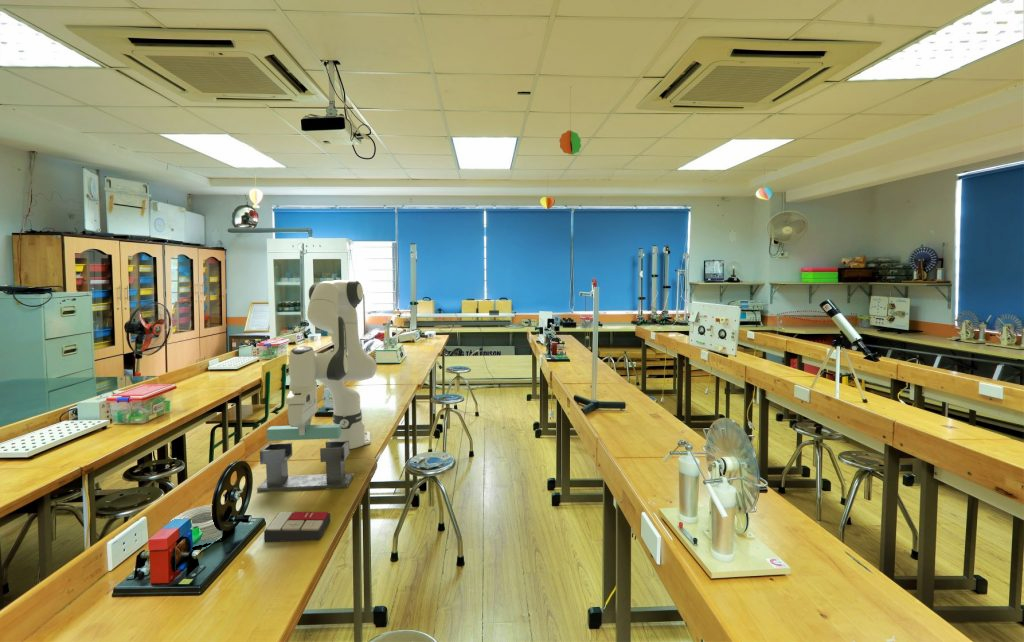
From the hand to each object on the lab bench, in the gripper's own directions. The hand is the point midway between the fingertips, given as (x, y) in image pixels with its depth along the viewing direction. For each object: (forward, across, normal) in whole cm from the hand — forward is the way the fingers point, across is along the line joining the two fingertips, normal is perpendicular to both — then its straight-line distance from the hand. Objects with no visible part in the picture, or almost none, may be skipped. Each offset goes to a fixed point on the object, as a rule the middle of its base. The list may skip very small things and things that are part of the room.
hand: (305, 432), depth 174 cm
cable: (+20, +33, -19) cm, 43 cm away
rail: (+2, 0, 0) cm, 2 cm away
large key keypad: (+20, +34, +8) cm, 40 cm away
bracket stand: (+19, 0, 0) cm, 19 cm away
